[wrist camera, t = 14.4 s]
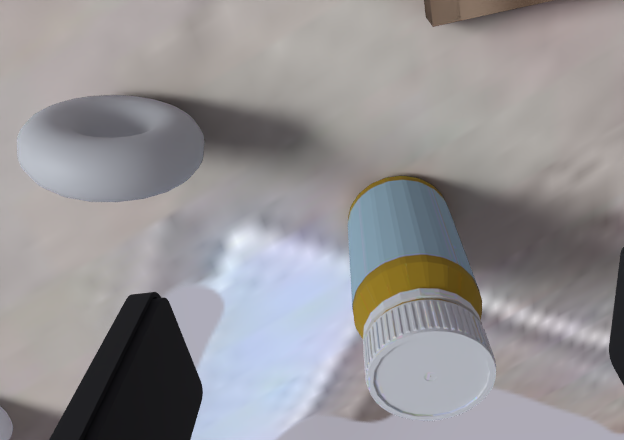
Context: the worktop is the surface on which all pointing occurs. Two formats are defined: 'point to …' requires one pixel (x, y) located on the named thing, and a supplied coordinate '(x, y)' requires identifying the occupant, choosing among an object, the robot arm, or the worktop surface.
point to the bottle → (416, 303)
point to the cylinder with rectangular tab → (5, 425)
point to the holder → (469, 9)
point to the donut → (110, 148)
